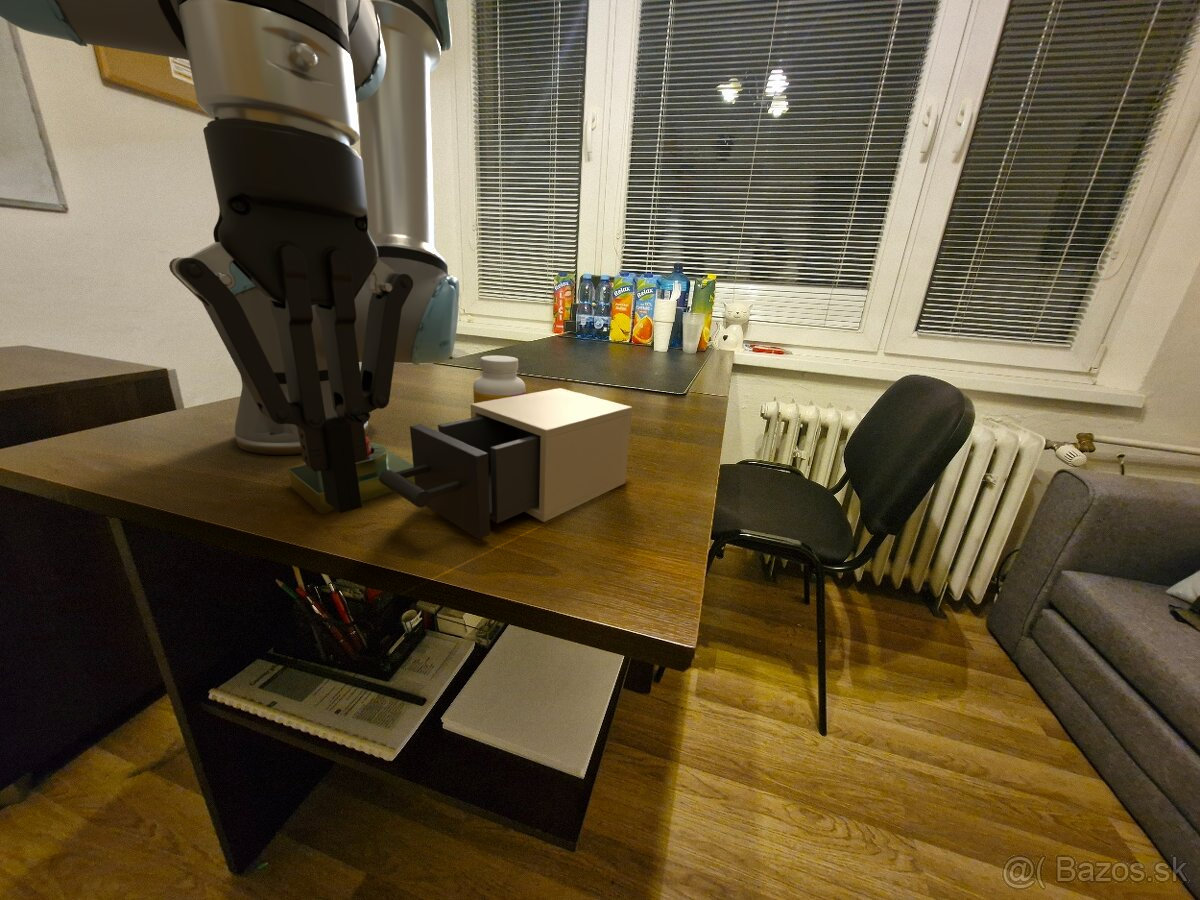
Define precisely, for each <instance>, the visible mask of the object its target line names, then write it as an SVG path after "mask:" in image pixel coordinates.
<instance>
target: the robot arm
mask: <svg viewBox="0 0 1200 900" xmlns="http://www.w3.org/2000/svg"><path fill="white" fill-rule="evenodd" d="M448 4H449V3H448V0H0V17H1V18H2V19H4V20H6V21H7V22H8V23H10V24H11V25H14V26H15V27H17V28H19V29H21V30H24V31H27V32H29V33H32V34H33V33H34V34H37V35H41V36H47V37H51V38H56V39H60V40H64V41H69V42H73V43H74V44H76V45H78V46H79V47H88V46H89V45H91V46H97V47H104V48H111V49H116V50H123V51H128V52H129V51H130V52H135V53H142V54H148V55H155V56H162V57H167V58H174V59H179V60H187V61H188V62H189V68H190V73H191V77H192V82H193V87H194V92H195V97H196V102H197V106H198V107H199V108H201V110H202V111H203V112H204V113H205V114H207V116H209V117H211V118H212V119H213V120H210V121H208V123H206V126H205V127H203V130H202V132H203V138H204V141H205V146H206V151H207V154H208V161H209V164H210V165H209V166H210V171H211V175H212V180H213V184H214V190H215V194H216V199H217V204H218V211H219V212H218V218H217V221H216V223H215V226H214V228H213V231H212V232H213V240H214V242H213V243H211V244H209V245H207V246H206V247H204V248H202V249H200V250H198V251H196V252H194V253H192V254H191V255H189V256H187V257H186V256H185V257H180V256H179V257H174V258H172V259H171V260H170V262H169V265H168V267H169V270H170V272H171V274H172V276H174V277H175V278H176V279H177V280H178V281H179V282H180V283H181V284H182V285H183V286H184V287H185V288H187V289H188V291H189V292H190V293H191V294H193V295H194V296H195V297H196V298H197V299H198V301H200V302H201V304H202V305H203V307H204V309H205V311H206V313H207V314H208V316H209V318H210V320H211V322H212V324H213V326H214V328H215V330H216V331H217V333H218V336H219V337H220V339H221V341H222V343H223V345H224V346H225V348H226V351H227V352H228V354H229V356H230V358H231V360H232V362H233V364H234V365H235V367H236V369H237V371H238V373H239V375H240V379H241V393H240V398H239V403H238V408H237V414H236V418H235V426H234V435H235V436H234V437H235V440H236V443H237V444H236V445H237V447H239V449H241V450H243V451H246V452H250V453H252V454H259V455H268V456H269V455H271V456H289V455H290V456H291V455H294V456H295V455H301V457H302V461H303V462H304V464H305V465H307V466H308V467H309V468H311V469H312V470H313V471H315V472H317V471H321V476H322V482H323V488H324V494H325V500H326V502H327V503H328V504H330V505H331V506H332V507H333V508H334V509H336V510H335V511H337V512H338V513H339V514H344V513H348V512H351V511H354V510H357V509H361V508H362V507H363V506H362V502H361V497H360V490H359V483H358V475H357V468H356V462H359V461H363V460H366V456H367V446H366V437H365V436H367V435H368V434H369V433H370V427H369V421H370V418H371V413H372V412H374V411H375V410H378V409H379V410H381V409H385V408H387V406H388V405H389V403H390V398H391V397H390V396H391V390H392V383H393V375H394V369H395V364H413V365H415V366H418V365H420V364H442V363H445V362H446V361H448V360H449V359H450V358H451V357H452V355H453V352H454V348H455V342H456V339H457V329H458V322H459V321H458V320H459V305H460V304H459V303H460V302H459V301H460V300H459V299H460V281H459V279H458V278H457V277H456V276H453V275H452V274H449V271H448V270H449V269H448V268H449V267H448V263H447V260H445V258H444V257H443V256H442V255H440V254H439V252H437V250H436V229H435V227H436V226H435V203H434V202H435V201H434V200H435V199H434V176H433V175H434V173H433V172H434V171H433V170H434V169H433V147H432V146H433V145H432V144H433V143H432V120H431V119H432V116H431V115H432V113H431V91H430V90H431V89H430V88H431V87H430V75H431V74H432V73H433V72H434V71H436V69H437V68H438V66H439V65H440V62H441V52H445V51H450V50H451V49H452V43H453V42H452V31H451V30H452V29H451V20H450V12H449V5H448ZM357 142H359V150H360V151H359V153H360V155H359V153H358V151H356V149H355V148H353V147H352V146H354V145H356V144H357ZM360 363H361V364H360Z"/></svg>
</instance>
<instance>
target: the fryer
mask: <svg viewBox="0 0 1200 900" xmlns="http://www.w3.org/2000/svg"><path fill="white" fill-rule="evenodd" d="M632 415H633V406H630V405H626V404H622V403H618V402H616V401H615V402H614V401H611V400H607V399H604V398H599V397H595V396H592V395H587V394H584V393H580V392H576V391H573V390H568V389H565V388H561V387H558V388H553V389H546V390H542V391H536V392H530V393H525V394H524V395H518V396H513V397H507V398H502V399H496V400H490V401H485V402H479V403H474V402H473V403H470V418H475V417H479V416H486V417H489V418H492V419H495V420H498V421H500V422H503V423H506V424H509V425H511V426H514V427H517V428H520V429H522V430H525V431H528V432H531V433H533V434H536V435H539V436H541V439H540V490H539V505H538V506H536V507H534V508H532V509H529V510H527V511H525V512H524V513H526V514H527V515H529V516H532V517H533V518H535V519H537V520H539V521H541V522H543V523H546V522H548V521H549V520H551V519H553V518H556V517H558V516H560V515H562V514H565V513H566V512H569V511H570V510H573V509H574V508H576V507H578V506H581V505H583V504H585V503H587V502H589V501H591V500H593V499H595V498H597V497H599V496H601V495H603V494H605V493H608V492H609V491H612V490H614V489H616V488H619V487H620V486H622V485H624V484H626V480H627V479H626V478H627V467H628V458H629V447H630V445H629V444H630V435H631V425H632Z"/></svg>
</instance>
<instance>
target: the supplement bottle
mask: <svg viewBox="0 0 1200 900" xmlns="http://www.w3.org/2000/svg"><path fill="white" fill-rule="evenodd" d="M480 368H481V370H482V374H481V376H478V377H477V378H475V380H474V381H473V388H472V389H473V392H472V393H473V404H474V403H479V402H485V401H490V400H496V399H502V398H507V397H513V396H518V395H524V394H527V393H526V392H527V391H526V384H525V381H524V380H523V379H522V378H520V377H518V376H517V372H518V369H519V359H518V358H517V357H513V356H509V355H483V356H481V357H480Z"/></svg>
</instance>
